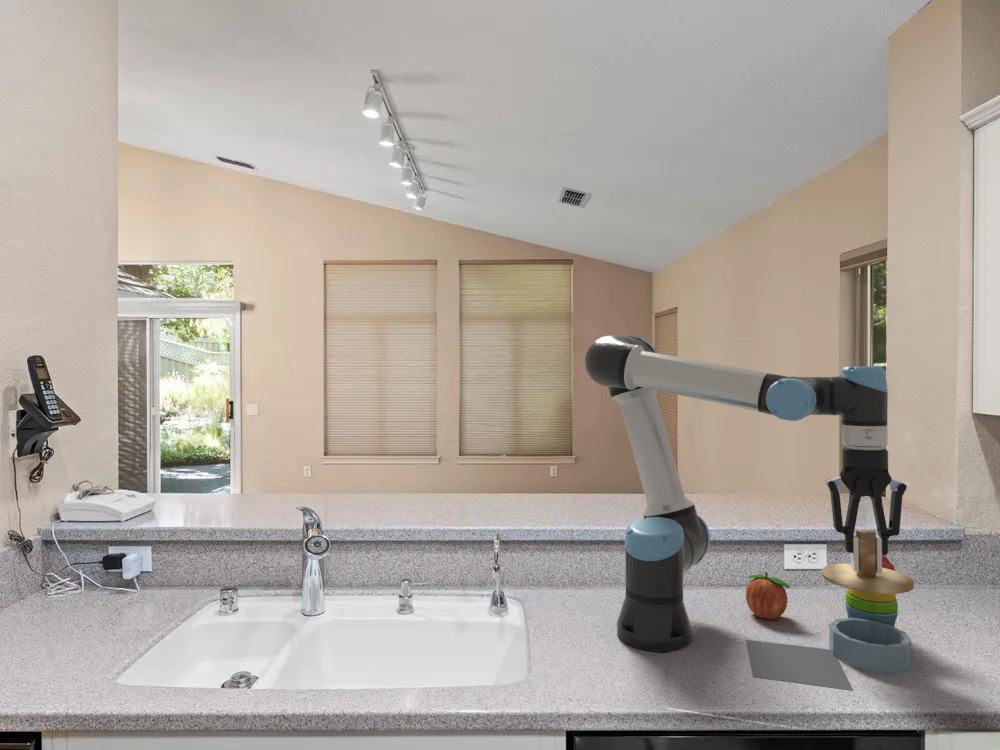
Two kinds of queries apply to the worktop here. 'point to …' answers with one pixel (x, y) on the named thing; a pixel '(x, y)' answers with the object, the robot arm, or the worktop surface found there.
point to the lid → (867, 571)
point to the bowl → (870, 645)
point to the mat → (796, 664)
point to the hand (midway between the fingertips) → (866, 570)
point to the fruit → (766, 596)
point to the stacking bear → (873, 603)
